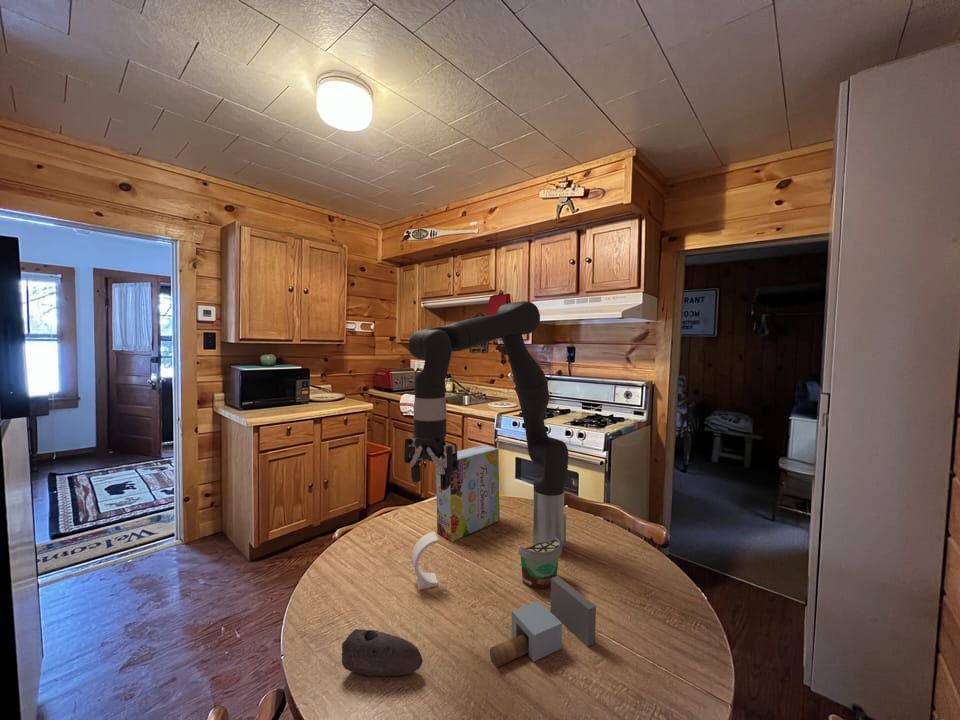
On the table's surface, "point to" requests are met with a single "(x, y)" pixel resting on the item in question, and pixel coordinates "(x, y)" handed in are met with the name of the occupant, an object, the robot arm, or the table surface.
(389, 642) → the perforated stone tool
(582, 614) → the backstop wall
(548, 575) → the ice cream tub
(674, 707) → the table surface
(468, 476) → the snack box
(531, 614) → the block
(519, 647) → the dowel
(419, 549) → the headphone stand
